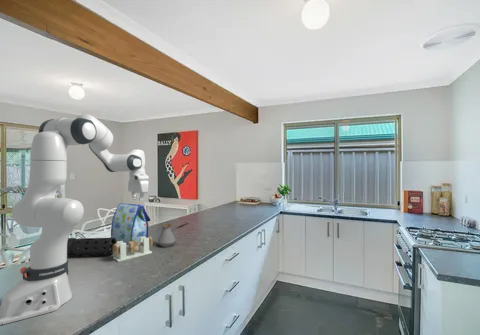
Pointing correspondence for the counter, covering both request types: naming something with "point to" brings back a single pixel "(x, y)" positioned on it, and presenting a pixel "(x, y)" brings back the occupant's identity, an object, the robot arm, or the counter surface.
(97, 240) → the black foam roller
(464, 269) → the counter surface
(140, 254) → the brackets
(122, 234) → the lunch bag
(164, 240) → the coffee pot
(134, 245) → the brown block with rod
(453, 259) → the counter surface
